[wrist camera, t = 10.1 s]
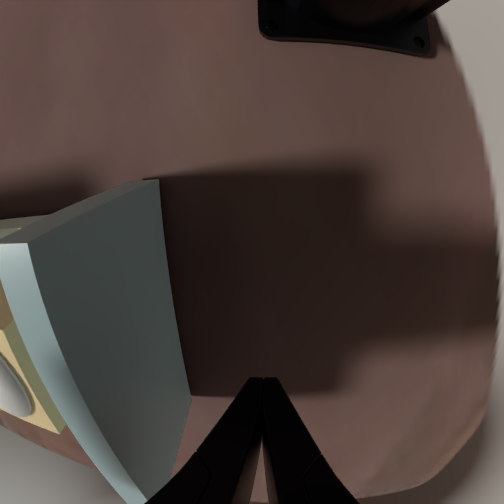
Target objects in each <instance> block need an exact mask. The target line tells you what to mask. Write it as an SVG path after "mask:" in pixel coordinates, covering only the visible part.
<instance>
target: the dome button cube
mask: <svg viewBox="0 0 504 504" xmlns="http://www.w3.org/2000/svg"><path fill="white" fill-rule="evenodd" d="M0 409H1V410H3V411H6V412H8V413H10V414H12V415H14V416H16V417H18V418H21V419H23V420H25V421H27V422H30V423H32V424H34V425H37V426H39V427H42V428H44V429H47V430H49V431H52V432H55V433H57V434H61V432H62V430H63V429H64V427H65V425H66V422H65V420H64V419H63V417H62V416H61V414H60V412H59V411H58V409H57V407H56V405H55V404H54V402H53V400H52V399H51V397H50V395H49V393H48V391H47V389H46V388H45V386H44V384H43V382H42V380H41V378H40V376H39V374H38V372H37V370H36V368H35V366H34V364H33V362H32V360H31V358H30V356H29V353H28V351H27V349H26V347H25V344H24V342H23V340H22V337H21V335H20V333H19V330H18V328H17V325H16V323H15V320H14V317H13V315H12V312H11V309H10V307H9V304H8V301H7V298H6V295H5V292H4V289H3V286H2V283H1V279H0Z"/></svg>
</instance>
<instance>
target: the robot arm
mask: <svg viewBox="0 0 504 504" xmlns="http://www.w3.org/2000/svg"><path fill="white" fill-rule="evenodd" d="M448 1H450V0H258V25H259V31H260V34H261V35H262V36H263V37H264V38H266V39H268V40H288V41H314V42H329V43H340V44H350V45H358V46H366V47H373V48H379V49H385V50H391V51H396V52H401V53H406V54H411V55H416V56H421V55H423V54H425V53H427V52H428V51H429V50H430V39H429V32H428V25H427V19H426V16H427V15H428V14H430V13H431V12H433V11H434V10H436V9H437V8H439V7H441V6H442V5H444V4H445V3H447V2H448ZM270 23H276V24H278V25H279V27H280V28H279V29H278V30H277V31H270V30H268V29H267V28H266V26H267V25H268V24H270ZM413 39H416V40H418V42H419V43H420V45H421V47H420V48H419V47H417V46H416V45H415V44H414V41H413ZM261 442H262V447H263V457H264V466H265V476H266V485H267V494H268V503H269V504H360V503H359V502H358V501H357V500H356V499H355V498H354V497H353V495H352V494H351V493H350V492H349V491H348V490H347V489H346V487H345V486H344V485H343V484H342V482H341V481H340V480H339V479H338V477H337V476H336V475H335V473H334V472H333V470H332V469H331V467H330V466H329V464H328V463H327V461H326V459H325V458H324V456H323V455H321V451H320V450H319V448H318V446H317V445H316V443H315V441H314V440H313V438H312V436H311V435H310V433H309V431H308V430H307V428H306V426H305V425H304V423H303V421H302V420H301V418H300V416H299V414H298V413H297V411H296V409H295V408H294V406H293V404H292V402H291V401H290V399H289V397H288V395H287V394H286V392H285V390H284V388H283V387H282V385H281V383H280V381H279V380H278V378H276V377H265V378H264V380H263V378H262V377H250V378H249V379H248V380H247V382H246V383H245V385H244V386H243V387H242V389H241V390H240V392H239V393H238V395H237V396H236V397H235V399H234V400H233V402H232V403H231V404H230V406H229V407H228V409H227V410H226V411H225V413H224V414H223V415H222V417H221V418H220V420H219V421H218V422H217V424H216V425H215V426H214V428H213V429H212V430H211V432H210V433H209V434H208V436H207V437H206V438H205V440H204V441H203V442H202V444H201V445H200V446H199V447H198V449H197V452H194V454H193V455H192V456H191V458H190V459H189V460H188V461H187V463H186V464H185V465H184V466H183V467H182V468H181V470H180V471H179V472H178V473H177V474H176V475H175V476H174V477H173V478H172V479H171V480H170V481H169V482H168V483H167V484H166V485H164V486H163V487H162V488H161V489H160V490H159V491H158V492H157V493H156V494H154V495H153V496H152V497H151V498H150V499H149V500H148V501H146V502H145V503H144V504H249V503H250V499H251V494H252V489H253V484H254V479H255V475H256V470H257V464H258V459H259V454H260V449H261Z"/></svg>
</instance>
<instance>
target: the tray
mask: <svg viewBox="0 0 504 504" xmlns="http://www.w3.org/2000/svg"><path fill="white" fill-rule="evenodd" d="M0 279H1V283H2V286H3V289H4V292H5V295H6V298H7V301H8V304H9V307H10V309H11V312H12V315H13V317H14V320H15V323H16V325H17V328H18V330H19V333H20V335H21V337H22V340H23V342H24V344H25V347H26V349H27V351H28V353H29V356H30V358H31V360H32V362H33V364H34V366H35V368H36V370H37V372H38V374H39V376H40V378H41V380H42V382H43V384H44V386H45V388H46V389H47V391H48V393H49V395H50V397H51V399H52V400H53V402H54V404H55V405H56V407H57V409H58V411H59V412H60V414H61V416H62V417H63V419H64V420H65V422H66V424H67V425H68V427H69V428H70V430H71V431H72V433H73V434H74V436H75V437H76V439H77V440H78V442H79V443H80V445H81V446H82V448H83V449H84V450H85V452H86V453H87V455H88V456H89V457H90V459H91V460H92V461H93V463H94V464H95V465H96V467H97V468H98V469H99V471H100V472H101V473H102V474H103V475H104V477H105V478H106V479H107V480H108V482H109V483H110V484H111V485H112V486H113V488H114V489H115V490H116V491H117V492H118V493H119V495H120V496H121V497H122V498H123V499H124V500H125V501H126V502H127V504H144V503H145V502H146V501H148V500H149V499H150V498H151V497H152V496H153V495H154V494H156V493H157V492H158V491H159V490H160V489H161V488H162V487H163V486H164V485H166V484H167V483H168V482H169V481H170V478H171V475H172V471H173V467H174V463H175V460H176V456H177V452H178V449H179V445H180V441H181V438H182V434H183V431H184V427H185V423H186V420H187V416H188V413H189V409H190V405H191V402H192V398H191V394H190V389H189V385H188V380H187V375H186V371H185V366H184V361H183V356H182V350H181V345H180V340H179V334H178V329H177V323H176V317H175V311H174V305H173V298H172V292H171V285H170V278H169V271H168V264H167V256H166V248H165V239H164V231H163V221H162V211H161V201H160V189H159V179H152V180H139V181H130V182H127V183H124V184H122V185H119V186H117V187H114V188H111V189H109V190H106V191H104V192H101V193H99V194H96V195H94V196H91V197H89V198H87V199H84V200H82V201H80V202H77V203H75V204H73V205H70V206H68V207H66V208H63V209H61V210H59V211H57V212H55V213H52V214H50V215H41V216H31V217H21V218H12V219H3V220H0Z"/></svg>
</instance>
